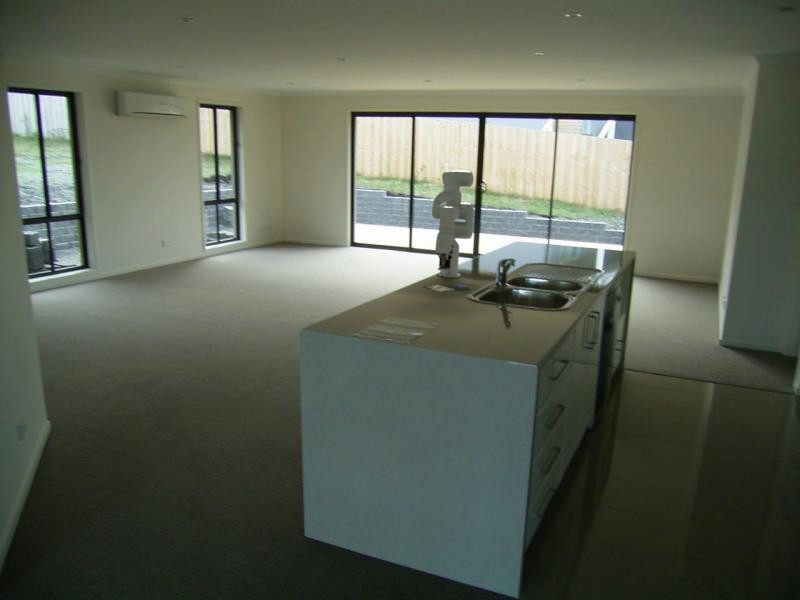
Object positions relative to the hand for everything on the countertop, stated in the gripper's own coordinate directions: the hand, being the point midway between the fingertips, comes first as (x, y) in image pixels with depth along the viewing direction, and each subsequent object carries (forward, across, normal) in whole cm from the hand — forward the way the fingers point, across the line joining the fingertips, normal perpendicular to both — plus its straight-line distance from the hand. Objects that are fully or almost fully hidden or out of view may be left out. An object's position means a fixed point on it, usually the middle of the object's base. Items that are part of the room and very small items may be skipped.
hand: (444, 266), depth 326 cm
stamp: (+1, 0, 0) cm, 1 cm away
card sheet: (+12, -4, 0) cm, 13 cm away
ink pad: (+12, +1, +10) cm, 16 cm away
